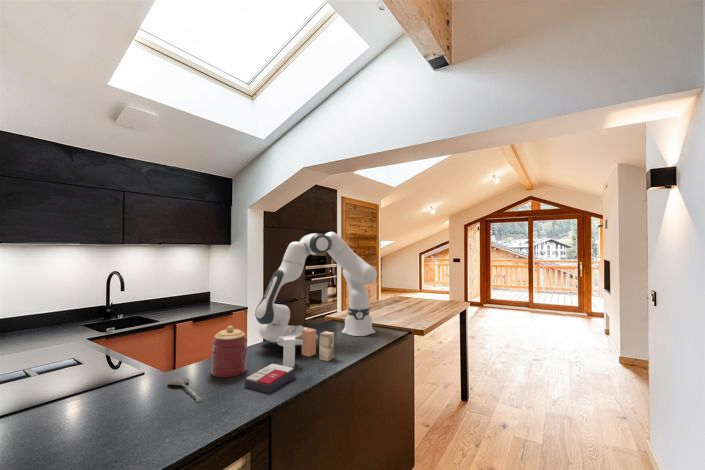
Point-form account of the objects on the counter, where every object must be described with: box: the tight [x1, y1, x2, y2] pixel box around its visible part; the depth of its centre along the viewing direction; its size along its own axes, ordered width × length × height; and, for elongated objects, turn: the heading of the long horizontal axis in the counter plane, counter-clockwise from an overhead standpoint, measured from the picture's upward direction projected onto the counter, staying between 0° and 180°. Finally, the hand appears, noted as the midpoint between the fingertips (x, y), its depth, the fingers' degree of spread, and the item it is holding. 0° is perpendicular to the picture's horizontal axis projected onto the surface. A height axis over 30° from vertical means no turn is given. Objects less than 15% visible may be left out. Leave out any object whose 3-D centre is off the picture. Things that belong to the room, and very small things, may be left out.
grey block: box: [282, 336, 296, 368], centre depth 136 cm, size 4×4×11 cm
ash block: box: [318, 331, 335, 362], centre depth 144 cm, size 4×4×11 cm
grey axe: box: [167, 376, 202, 403], centre depth 111 cm, size 22×3×7 cm
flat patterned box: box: [244, 363, 296, 394], centre depth 119 cm, size 11×4×15 cm
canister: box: [210, 325, 248, 378], centre depth 128 cm, size 13×13×18 cm
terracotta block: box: [301, 327, 317, 357], centre depth 150 cm, size 4×4×11 cm
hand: (310, 340), depth 149 cm, fingers open, 8 cm apart
